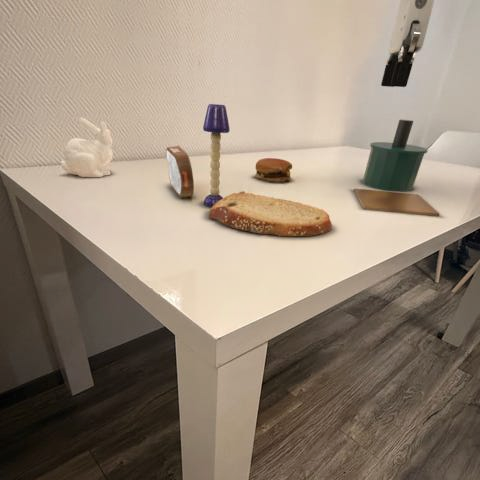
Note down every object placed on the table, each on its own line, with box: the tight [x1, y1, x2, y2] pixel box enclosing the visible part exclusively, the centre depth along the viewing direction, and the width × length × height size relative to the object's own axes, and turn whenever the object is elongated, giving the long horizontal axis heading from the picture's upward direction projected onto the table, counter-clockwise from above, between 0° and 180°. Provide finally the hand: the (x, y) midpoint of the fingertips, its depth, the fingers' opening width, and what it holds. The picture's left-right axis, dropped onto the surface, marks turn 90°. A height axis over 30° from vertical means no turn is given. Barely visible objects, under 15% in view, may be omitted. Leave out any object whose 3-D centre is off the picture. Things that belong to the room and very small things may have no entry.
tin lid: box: [369, 119, 429, 155], centre depth 81 cm, size 13×13×7 cm
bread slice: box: [208, 190, 333, 237], centre depth 58 cm, size 18×18×4 cm
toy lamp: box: [202, 103, 231, 208], centre depth 61 cm, size 5×5×17 cm
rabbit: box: [60, 116, 114, 178], centre depth 75 cm, size 12×9×12 cm
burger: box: [255, 157, 293, 183], centre depth 85 cm, size 10×9×5 cm
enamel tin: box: [362, 147, 425, 192], centre depth 85 cm, size 12×12×8 cm
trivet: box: [353, 187, 440, 217], centre depth 74 cm, size 15×15×1 cm
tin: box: [165, 145, 195, 198], centre depth 69 cm, size 15×3×8 cm, turn 20°
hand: (392, 86), depth 74 cm, fingers open, 9 cm apart
